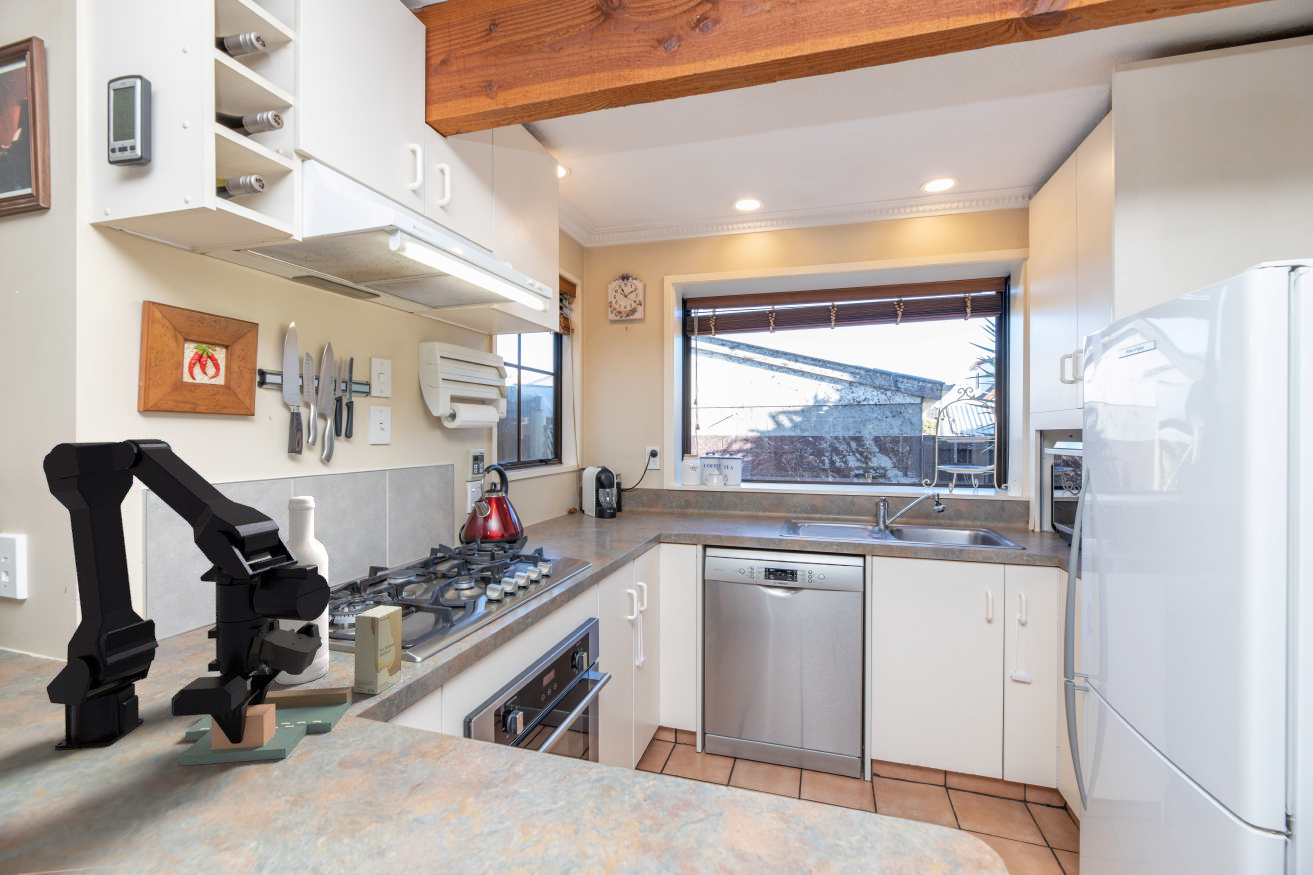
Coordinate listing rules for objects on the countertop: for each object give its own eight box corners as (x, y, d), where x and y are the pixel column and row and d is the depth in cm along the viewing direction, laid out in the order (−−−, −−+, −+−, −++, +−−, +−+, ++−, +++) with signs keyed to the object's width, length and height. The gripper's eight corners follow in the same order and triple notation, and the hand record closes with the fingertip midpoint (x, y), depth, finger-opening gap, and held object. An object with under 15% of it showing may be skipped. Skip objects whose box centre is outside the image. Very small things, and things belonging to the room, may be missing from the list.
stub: (179, 765, 72) (179, 723, 72) (209, 739, 78) (209, 700, 78) (285, 757, 74) (285, 716, 74) (306, 733, 80) (306, 695, 79)
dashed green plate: (185, 740, 78) (185, 720, 77) (221, 711, 85) (220, 693, 85) (331, 731, 80) (331, 711, 80) (352, 703, 88) (352, 686, 88)
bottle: (270, 689, 93) (269, 501, 92) (276, 670, 100) (275, 495, 99) (328, 679, 97) (327, 498, 96) (330, 662, 104) (329, 493, 103)
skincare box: (377, 695, 91) (377, 618, 91) (353, 693, 92) (352, 615, 91) (403, 678, 97) (403, 605, 97) (380, 676, 98) (380, 603, 98)
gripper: (276, 638, 67) (276, 773, 67) (339, 592, 85) (339, 698, 86) (167, 643, 65) (168, 781, 65) (255, 595, 84) (256, 703, 84)
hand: (244, 735), depth 75 cm, fingers closed on stub, 3 cm apart
